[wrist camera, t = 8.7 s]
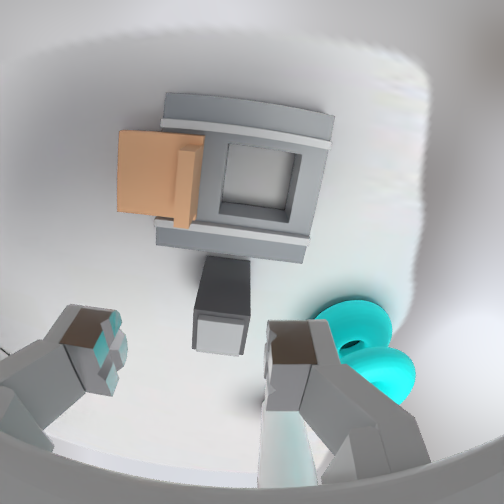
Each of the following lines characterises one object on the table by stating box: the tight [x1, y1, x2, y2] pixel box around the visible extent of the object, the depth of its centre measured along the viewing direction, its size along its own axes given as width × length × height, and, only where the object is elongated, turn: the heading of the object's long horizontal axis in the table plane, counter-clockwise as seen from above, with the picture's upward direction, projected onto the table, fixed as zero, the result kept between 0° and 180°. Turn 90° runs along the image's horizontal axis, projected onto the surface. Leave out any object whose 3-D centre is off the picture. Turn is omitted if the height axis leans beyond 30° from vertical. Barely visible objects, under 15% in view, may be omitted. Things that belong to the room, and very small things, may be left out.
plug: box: [192, 256, 251, 356], centre depth 26 cm, size 4×4×9 cm
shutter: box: [117, 130, 205, 229], centre depth 20 cm, size 6×6×4 cm
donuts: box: [315, 300, 416, 405], centre depth 29 cm, size 10×10×10 cm
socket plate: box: [154, 93, 335, 264], centre depth 23 cm, size 12×12×4 cm
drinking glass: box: [257, 400, 318, 488], centre depth 32 cm, size 7×7×15 cm
